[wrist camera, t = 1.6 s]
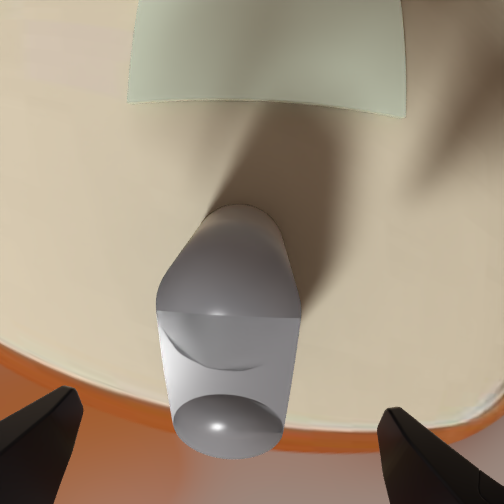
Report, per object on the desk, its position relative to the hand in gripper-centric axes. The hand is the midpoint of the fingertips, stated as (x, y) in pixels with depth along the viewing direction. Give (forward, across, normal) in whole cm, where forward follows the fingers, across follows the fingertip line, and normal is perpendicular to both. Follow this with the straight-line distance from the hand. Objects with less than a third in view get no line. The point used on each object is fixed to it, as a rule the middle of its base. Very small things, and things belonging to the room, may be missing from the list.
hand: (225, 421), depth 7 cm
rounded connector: (+8, 0, 0) cm, 8 cm away
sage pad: (+8, -1, -16) cm, 18 cm away
